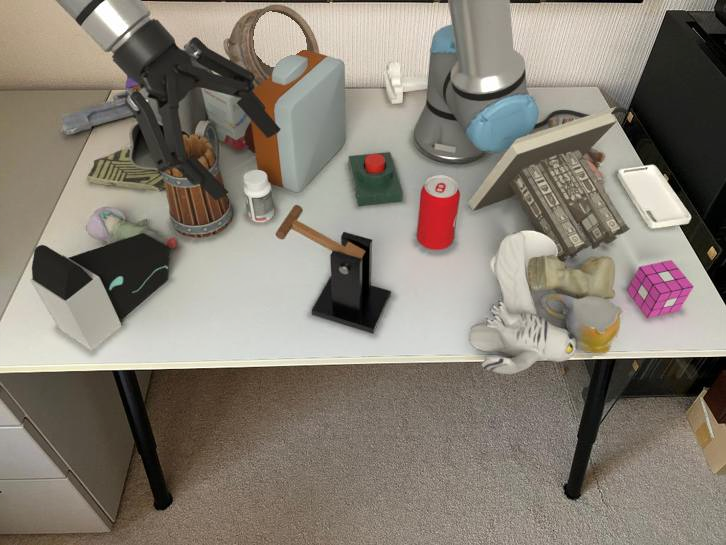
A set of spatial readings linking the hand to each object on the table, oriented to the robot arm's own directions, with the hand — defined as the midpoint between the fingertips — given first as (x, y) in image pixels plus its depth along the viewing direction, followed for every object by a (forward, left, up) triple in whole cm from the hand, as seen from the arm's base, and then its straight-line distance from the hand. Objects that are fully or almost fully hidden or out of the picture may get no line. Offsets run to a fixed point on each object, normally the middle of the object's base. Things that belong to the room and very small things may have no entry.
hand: (249, 164), depth 86 cm
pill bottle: (0, -13, -21) cm, 25 cm away
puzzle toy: (-59, +16, -21) cm, 65 cm away
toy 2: (-30, +19, -11) cm, 37 cm away
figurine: (-60, -18, -21) cm, 67 cm away
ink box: (+4, -36, -21) cm, 42 cm away
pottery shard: (+24, -26, -21) cm, 41 cm away
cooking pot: (-1, -56, -16) cm, 58 cm away
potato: (-4, -29, -19) cm, 35 cm away
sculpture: (-52, +13, -18) cm, 57 cm away
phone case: (-70, +1, -20) cm, 73 cm away
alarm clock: (-9, -26, -21) cm, 35 cm away
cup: (-40, +9, -21) cm, 46 cm away
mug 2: (-44, +20, -14) cm, 50 cm away
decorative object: (+23, +3, -21) cm, 31 cm away
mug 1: (+9, -16, -21) cm, 28 cm away
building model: (-47, -9, -11) cm, 49 cm away
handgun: (+32, -58, -19) cm, 69 cm away
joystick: (-29, -48, -17) cm, 58 cm away
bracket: (-13, +10, -21) cm, 26 cm away
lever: (-9, +8, -10) cm, 15 cm away
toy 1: (+15, -5, -20) cm, 26 cm away
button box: (-21, -18, -21) cm, 35 cm away
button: (-21, -18, -17) cm, 33 cm away
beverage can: (-29, -2, -21) cm, 36 cm away
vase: (+13, -55, -16) cm, 58 cm away
